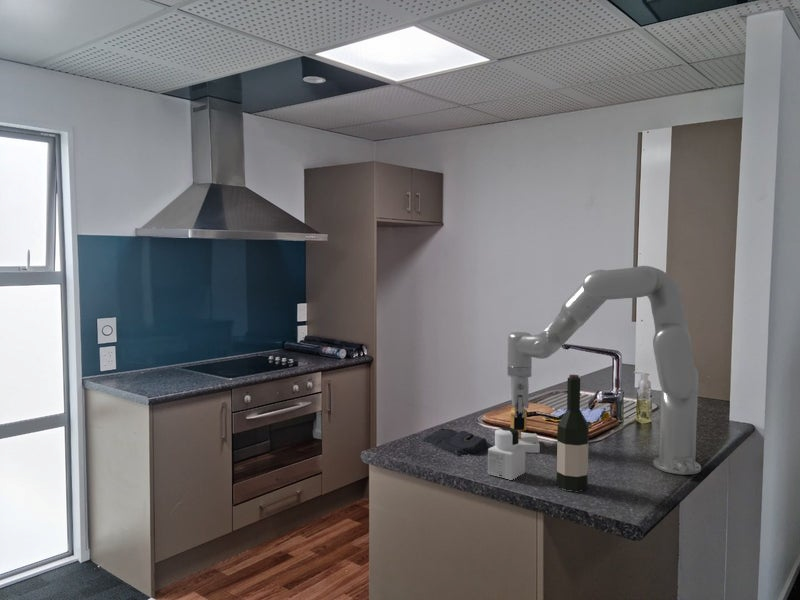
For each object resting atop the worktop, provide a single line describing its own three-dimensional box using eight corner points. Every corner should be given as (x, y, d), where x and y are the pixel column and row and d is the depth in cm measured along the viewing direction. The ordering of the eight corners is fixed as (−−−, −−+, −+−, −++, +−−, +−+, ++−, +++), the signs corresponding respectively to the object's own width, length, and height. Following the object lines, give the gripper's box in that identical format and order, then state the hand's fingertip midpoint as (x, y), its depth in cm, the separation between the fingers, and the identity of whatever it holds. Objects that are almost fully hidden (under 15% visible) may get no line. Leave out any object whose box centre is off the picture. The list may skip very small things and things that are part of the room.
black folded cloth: (453, 434, 216) (453, 420, 215) (498, 450, 198) (498, 436, 197) (418, 442, 207) (418, 428, 207) (461, 460, 189) (461, 445, 189)
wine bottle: (582, 480, 171) (584, 372, 168) (592, 492, 162) (595, 378, 160) (552, 480, 170) (553, 372, 168) (561, 492, 162) (562, 378, 160)
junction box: (539, 452, 194) (539, 434, 193) (500, 451, 195) (500, 432, 195) (534, 435, 212) (534, 418, 212) (498, 434, 214) (498, 417, 213)
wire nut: (526, 430, 197) (527, 409, 197) (510, 430, 198) (511, 408, 197) (525, 426, 202) (526, 405, 202) (510, 425, 203) (510, 404, 202)
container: (501, 467, 181) (501, 423, 180) (525, 473, 176) (525, 428, 175) (487, 475, 175) (487, 430, 174) (511, 481, 170) (512, 435, 169)
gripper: (533, 376, 190) (532, 435, 191) (529, 366, 206) (528, 420, 208) (508, 376, 191) (507, 434, 192) (506, 365, 207) (505, 419, 209)
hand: (518, 426), depth 200 cm, fingers closed on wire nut, 5 cm apart
